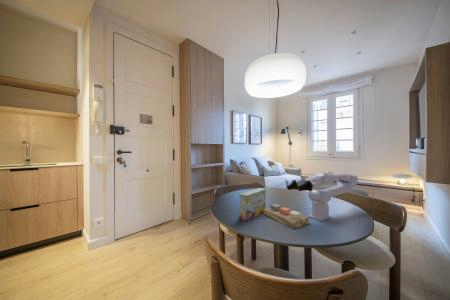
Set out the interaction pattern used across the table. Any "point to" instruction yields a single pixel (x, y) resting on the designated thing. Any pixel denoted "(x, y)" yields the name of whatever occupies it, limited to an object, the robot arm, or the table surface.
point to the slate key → (275, 207)
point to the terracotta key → (284, 211)
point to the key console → (286, 218)
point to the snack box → (251, 204)
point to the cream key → (295, 215)
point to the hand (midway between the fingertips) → (293, 188)
